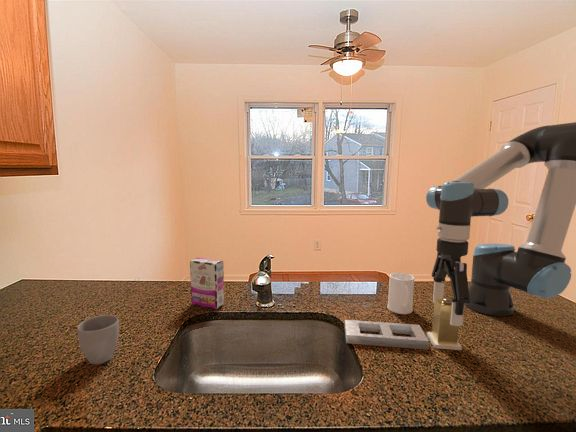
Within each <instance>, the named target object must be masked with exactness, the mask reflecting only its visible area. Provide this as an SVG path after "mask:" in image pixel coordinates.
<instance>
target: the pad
mask: <svg viewBox="0 0 576 432" xmlns="http://www.w3.org/2000/svg"><path fill="white" fill-rule="evenodd" d="M426 337H427V338H428V340H429V342H431V344H432V346H433V348H434V349H440V350H441V349H442V350H452V351H453V350H454V351H463V346H462V345H461V343H460V342H459V341H458V340H457V345H456V344H443V343H437V341H436V340H435V338H434V336H433V335H432V331H427V332H426Z"/></svg>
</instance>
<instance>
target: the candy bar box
mask: <svg viewBox="0 0 576 432" xmlns="http://www.w3.org/2000/svg"><path fill="white" fill-rule="evenodd" d="M189 268H190V269H189V271H190V272H189V273H190V274H189V275H190V297H191V298H190V299H191V305H193V306H198V307H203V308H207V309H212V310H218V309H219V308H221V307H223V306H224V305H225V284H224V283H225V281H224V280H225V279H224V260H221V259H211V258H206V257H205V258H204V257H196V258H194V259H192V260H190V261H189Z"/></svg>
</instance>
